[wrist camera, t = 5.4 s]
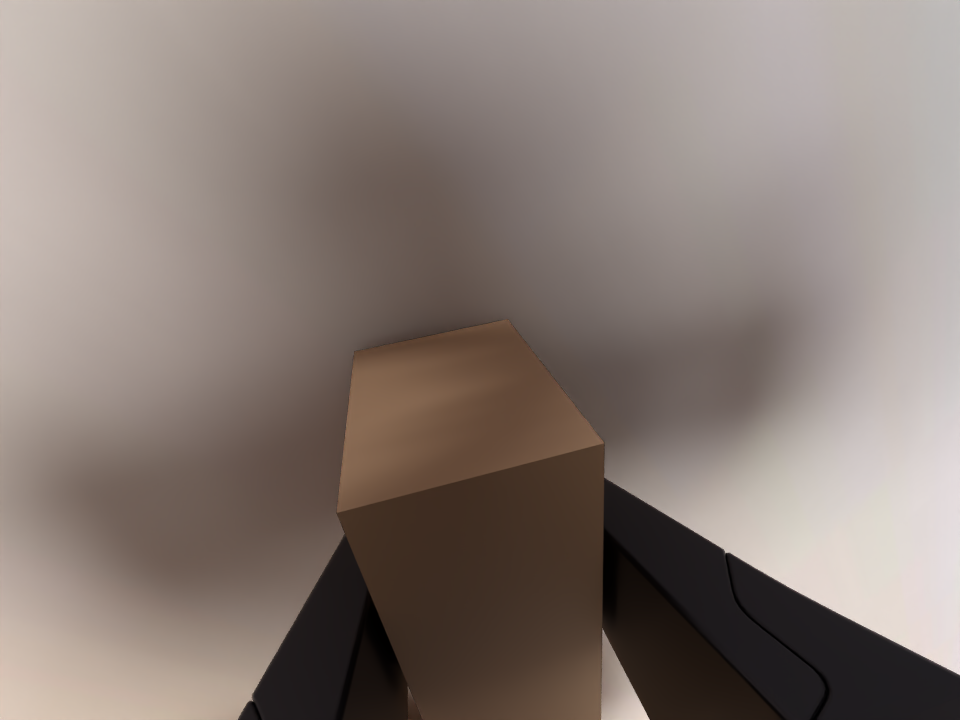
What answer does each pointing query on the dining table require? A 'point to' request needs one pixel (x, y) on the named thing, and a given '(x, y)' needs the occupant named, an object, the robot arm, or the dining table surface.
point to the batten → (478, 524)
